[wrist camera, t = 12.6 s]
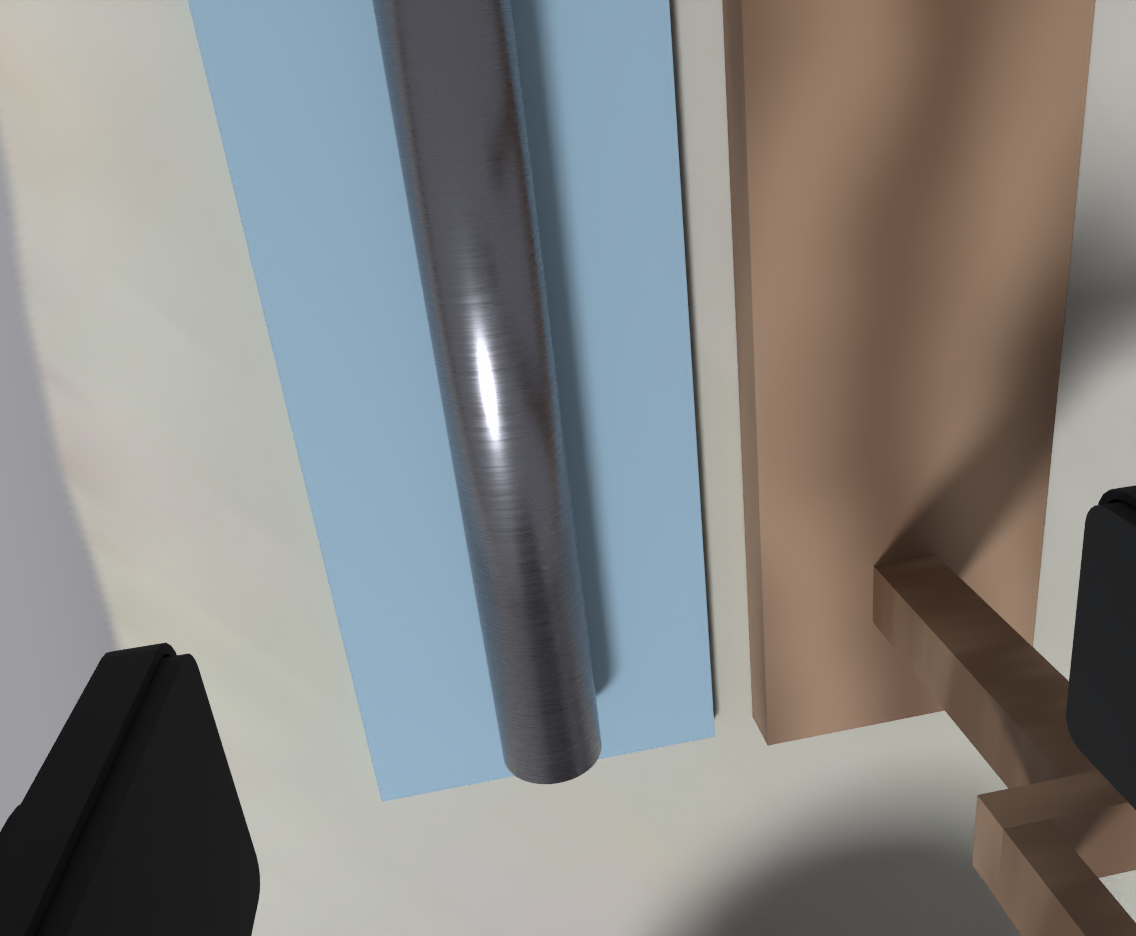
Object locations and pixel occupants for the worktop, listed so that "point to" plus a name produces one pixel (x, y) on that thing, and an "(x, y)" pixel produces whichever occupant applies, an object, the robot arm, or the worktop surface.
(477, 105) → the rod
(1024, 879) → the rack
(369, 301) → the mat
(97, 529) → the worktop surface
